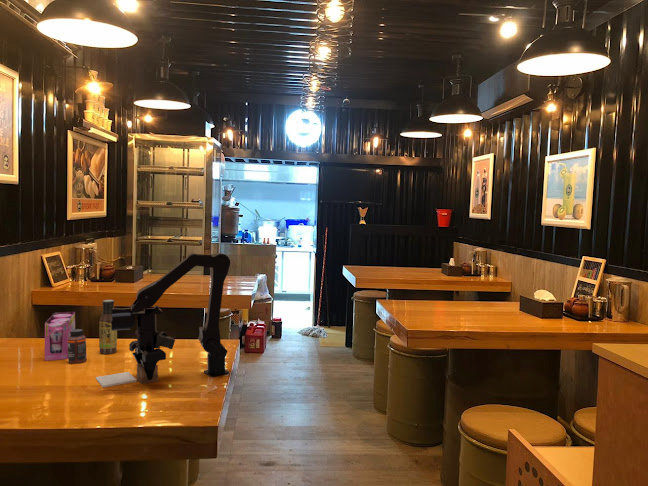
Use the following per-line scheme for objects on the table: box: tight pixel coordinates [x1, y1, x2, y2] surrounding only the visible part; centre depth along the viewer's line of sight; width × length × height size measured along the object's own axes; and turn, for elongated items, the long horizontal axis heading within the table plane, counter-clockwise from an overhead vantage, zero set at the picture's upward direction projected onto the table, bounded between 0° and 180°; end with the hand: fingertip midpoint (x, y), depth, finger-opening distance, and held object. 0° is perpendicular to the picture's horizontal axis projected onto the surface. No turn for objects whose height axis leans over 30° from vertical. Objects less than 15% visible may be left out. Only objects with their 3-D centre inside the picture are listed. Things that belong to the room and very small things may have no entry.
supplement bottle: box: [67, 328, 87, 364], centre depth 185 cm, size 6×6×11 cm
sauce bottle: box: [98, 299, 118, 355], centre depth 198 cm, size 6×6×20 cm
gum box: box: [44, 311, 76, 361], centre depth 198 cm, size 24×8×14 cm, turn 19°
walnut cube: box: [136, 363, 159, 385], centre depth 164 cm, size 5×5×5 cm
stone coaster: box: [95, 371, 138, 388], centre depth 165 cm, size 10×10×1 cm
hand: (147, 377), depth 164 cm, fingers closed on walnut cube, 5 cm apart
